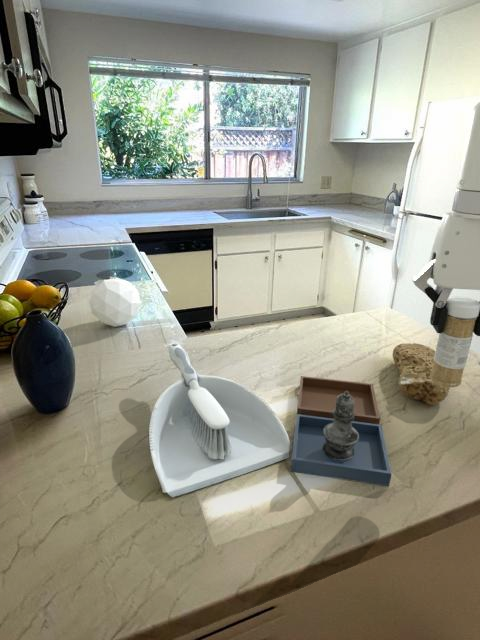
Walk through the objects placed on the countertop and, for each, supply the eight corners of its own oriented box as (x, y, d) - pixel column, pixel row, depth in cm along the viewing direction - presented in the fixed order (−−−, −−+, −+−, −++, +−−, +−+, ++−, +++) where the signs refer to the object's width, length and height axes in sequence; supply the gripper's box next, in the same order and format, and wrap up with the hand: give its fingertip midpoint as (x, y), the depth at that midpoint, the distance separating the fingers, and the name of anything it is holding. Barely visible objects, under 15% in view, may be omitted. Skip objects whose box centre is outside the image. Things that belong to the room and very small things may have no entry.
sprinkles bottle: (448, 372, 66) (466, 294, 60) (467, 387, 61) (489, 304, 56) (423, 374, 65) (439, 296, 59) (441, 390, 61) (460, 307, 55)
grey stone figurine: (317, 439, 71) (324, 381, 67) (349, 438, 72) (358, 380, 67) (326, 463, 66) (334, 401, 61) (361, 461, 66) (371, 400, 62)
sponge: (449, 416, 81) (455, 358, 95) (448, 386, 77) (455, 330, 92) (381, 407, 88) (396, 353, 102) (378, 379, 84) (394, 327, 98)
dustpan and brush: (163, 502, 59) (158, 451, 55) (121, 389, 86) (116, 350, 83) (296, 456, 68) (300, 409, 64) (220, 367, 95) (220, 331, 92)
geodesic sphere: (77, 318, 106) (106, 273, 105) (74, 301, 118) (100, 260, 117) (126, 342, 114) (154, 300, 113) (119, 323, 126) (144, 286, 125)
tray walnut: (371, 393, 86) (373, 383, 85) (378, 429, 75) (380, 418, 74) (299, 385, 89) (300, 375, 88) (296, 419, 77) (297, 408, 77)
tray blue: (379, 435, 73) (381, 424, 72) (389, 486, 62) (391, 473, 61) (295, 424, 76) (296, 413, 75) (290, 471, 65) (291, 459, 64)
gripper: (542, 202, 55) (508, 325, 62) (411, 199, 57) (392, 317, 65) (574, 209, 48) (530, 347, 55) (423, 206, 51) (400, 337, 58)
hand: (456, 329), depth 60 cm, fingers closed on sprinkles bottle, 4 cm apart
